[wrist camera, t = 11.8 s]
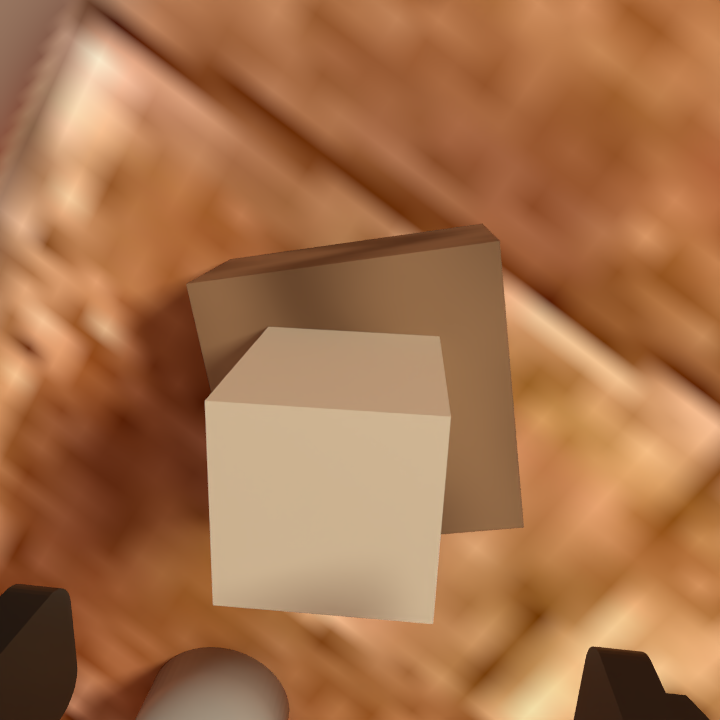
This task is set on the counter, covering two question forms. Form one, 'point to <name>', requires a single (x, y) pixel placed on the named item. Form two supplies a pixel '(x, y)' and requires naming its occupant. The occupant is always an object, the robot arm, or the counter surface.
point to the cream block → (329, 474)
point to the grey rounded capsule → (215, 689)
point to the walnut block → (394, 316)
